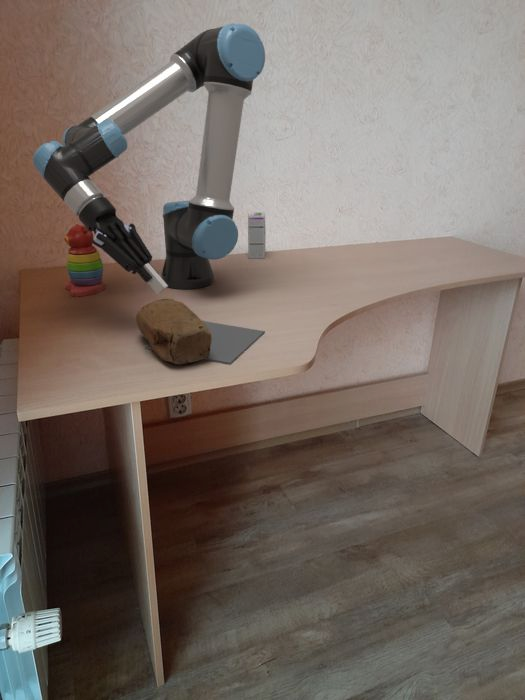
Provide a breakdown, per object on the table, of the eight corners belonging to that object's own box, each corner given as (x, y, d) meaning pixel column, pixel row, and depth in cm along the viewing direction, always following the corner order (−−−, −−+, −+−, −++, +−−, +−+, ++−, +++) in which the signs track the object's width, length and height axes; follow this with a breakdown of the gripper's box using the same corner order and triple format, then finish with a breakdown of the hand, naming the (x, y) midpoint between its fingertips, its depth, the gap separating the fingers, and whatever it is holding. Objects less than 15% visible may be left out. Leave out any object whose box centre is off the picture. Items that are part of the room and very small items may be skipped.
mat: (187, 319, 128) (187, 318, 127) (264, 332, 121) (264, 331, 120) (145, 348, 112) (145, 346, 112) (230, 364, 106) (230, 362, 105)
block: (180, 295, 119) (215, 327, 103) (181, 326, 122) (215, 362, 107) (132, 301, 114) (161, 336, 99) (134, 333, 118) (163, 372, 102)
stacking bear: (64, 287, 150) (54, 223, 143) (100, 282, 155) (92, 220, 147) (72, 298, 142) (62, 231, 134) (109, 292, 146) (102, 227, 139)
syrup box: (265, 258, 180) (265, 215, 174) (247, 258, 180) (247, 215, 174) (265, 254, 185) (265, 212, 179) (248, 254, 185) (248, 212, 179)
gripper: (102, 213, 122) (169, 291, 124) (62, 223, 111) (136, 309, 113) (118, 191, 118) (187, 272, 120) (79, 199, 107) (155, 288, 109)
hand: (162, 290), depth 116 cm, fingers closed
